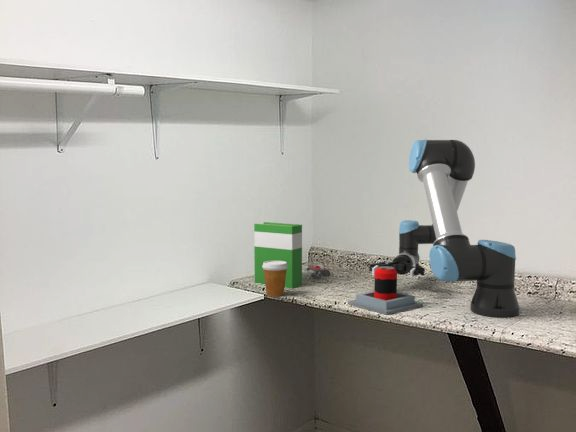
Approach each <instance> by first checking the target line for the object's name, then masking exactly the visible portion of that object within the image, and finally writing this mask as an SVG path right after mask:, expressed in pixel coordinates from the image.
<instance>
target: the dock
mask: <svg viewBox="0 0 576 432" xmlns="http://www.w3.org/2000/svg"><path fill="white" fill-rule="evenodd" d="M415 300H416V298H415V295H414V294H413V295H412V294H407V293H403V292H400V291H397V298H396V299H392V300H387V301H385V300H381V299H377V298H374V290H373V291H368V292H363V293H357V294H355V299H353V300H349V301H347V305H349V306H352V307H356V308H360V309H364V310H367V311H371V312H374V313H378V314H382V315H385V316H388V315H392V314H396V313H400V312H405V311H409V310H413V309H418V308H422V307H424V303H423V302H421V301H419V300H417V301H415Z"/></svg>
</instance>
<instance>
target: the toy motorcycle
mask: <svg viewBox="0 0 576 432" xmlns="http://www.w3.org/2000/svg"><path fill="white" fill-rule="evenodd" d="M306 271H307V274H308V276H309V277H311V278H313V277H314V278H316V279H318V280H319V279H321V277H330V276H331V271H330V270H329V269H328V268H326V267H325V266H324V265H323V264H319V263H317V264H314V265H309V266H308V267H307V268H306Z"/></svg>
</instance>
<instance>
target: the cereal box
mask: <svg viewBox="0 0 576 432" xmlns="http://www.w3.org/2000/svg"><path fill="white" fill-rule="evenodd" d="M253 225H254V226H253V227H254V228H253V229H254V230H253V232H254V233H253V235H254V236H253V237H254V239H253V240H254V241H253V242H254V243H253V244H254V246H253V247H254V251H253V252H254V284H255V283H261V284H260V285H263V284H265V278H264V270H263V267H262V266H263V262H266V261H285V262H287V265H288V267H287V271H286V279H285V287H286V289H295V288H297V287H301V286H302V285H303V224H298V223H297V224H296V223H282V222H281V223H280V222H270V221H269V222H266V221H264V222H263V224H262V223H254V224H253Z"/></svg>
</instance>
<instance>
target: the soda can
mask: <svg viewBox="0 0 576 432" xmlns="http://www.w3.org/2000/svg"><path fill="white" fill-rule="evenodd" d="M373 285H374V287H373V289H374V290H373V291H374V298H377V299H381V300H385V301H387V300H392V299H396V298H397V292H398V289H397V288H398V273H397V271H396V270H395V268H394V267H390V266H380V267H378V268H377V269H376V270H375V276H374V284H373Z"/></svg>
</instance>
